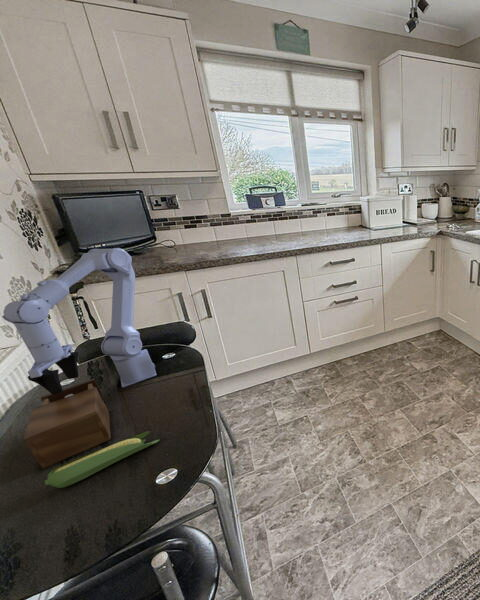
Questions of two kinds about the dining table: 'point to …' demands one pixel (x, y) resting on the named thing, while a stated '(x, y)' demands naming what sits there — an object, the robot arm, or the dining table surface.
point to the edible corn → (95, 461)
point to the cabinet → (67, 427)
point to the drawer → (72, 391)
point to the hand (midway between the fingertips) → (66, 385)
